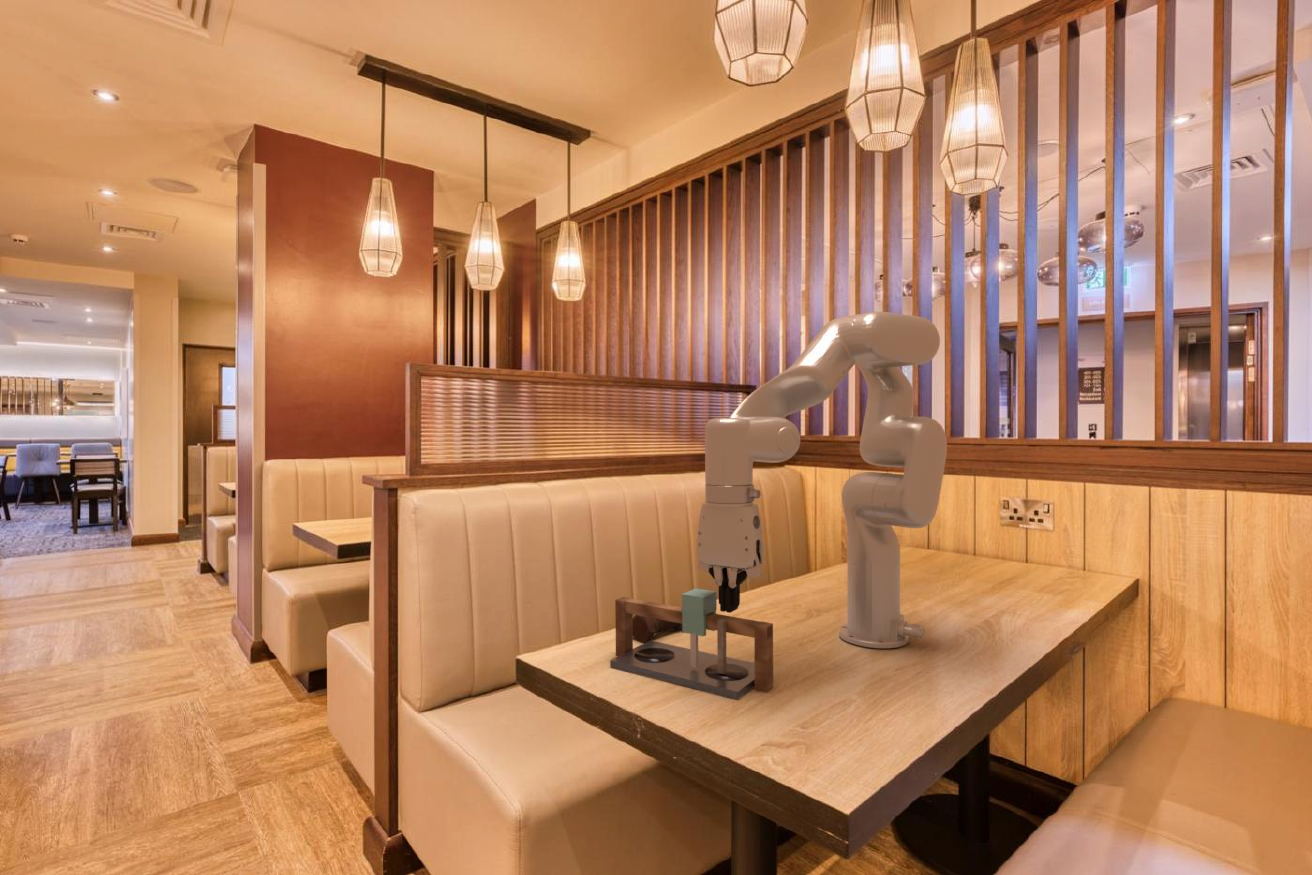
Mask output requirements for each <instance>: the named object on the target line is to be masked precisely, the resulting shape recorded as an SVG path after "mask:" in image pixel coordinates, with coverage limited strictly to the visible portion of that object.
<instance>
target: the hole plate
mask: <svg viewBox="0 0 1312 875" xmlns="http://www.w3.org/2000/svg"><path fill="white" fill-rule="evenodd" d="M609 665H610V666H609V667H610V668H612V669H616V670H620V671H624V672H627V673H630V674H635V675H640V676H643V677H647V678H650V679H655V680H658V681H663V682H667V683H671V684H675V685H679V686H682V687H685V688H691V689H694V690H697V691H701V692H706V693H710V694H713V695H716V696H721V697H724V698H729V699H732V700H736V701H738V700H740V699H741V698H742V697H743V696H745V695H746V694H747V693H748V692H750V691H751V690H752V689H755V662H751V661H747V660H746V661H745V660H742V659H737V658H733V657H728V656H726V672H725V673H724V674H722V673H718V654H714V653H710V652H705V651H702V650H698V666H697V667H692V666H691V664H690V648H687V647H682V646H677V645H672V644H670V643H669V644H668V643H664V642H659V641H655V640H650V641H648V642H646V643H642V644H640V645H638V646H636V647H634V648H633V649H632V650H630V651H628V652H626V653H624V654H622V655H620V656H615V657H614V658H611V659H610V660H609Z"/></svg>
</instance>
